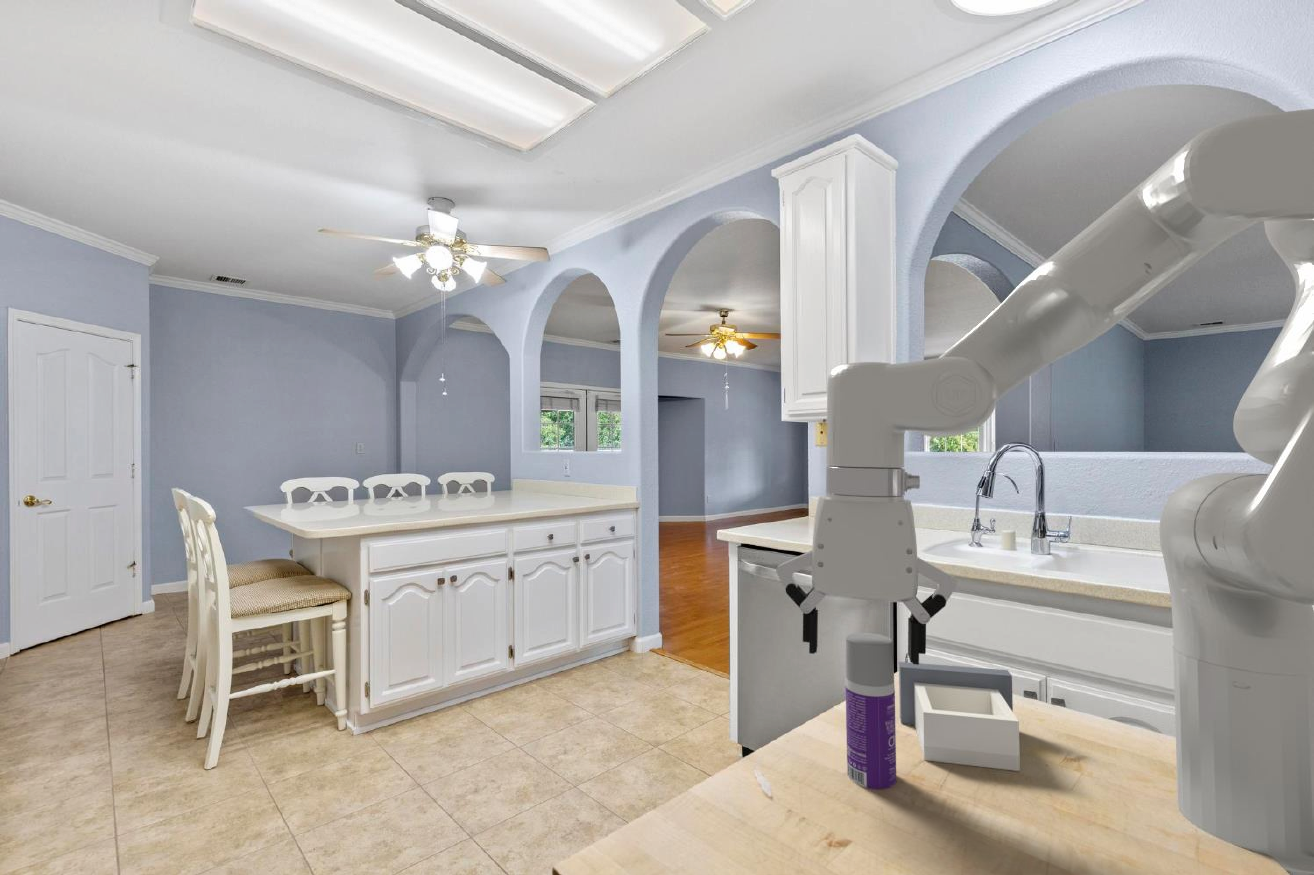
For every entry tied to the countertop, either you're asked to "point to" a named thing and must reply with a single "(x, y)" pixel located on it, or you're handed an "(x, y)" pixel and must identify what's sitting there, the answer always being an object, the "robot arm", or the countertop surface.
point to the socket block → (966, 726)
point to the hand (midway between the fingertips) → (862, 654)
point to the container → (870, 711)
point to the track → (948, 682)
